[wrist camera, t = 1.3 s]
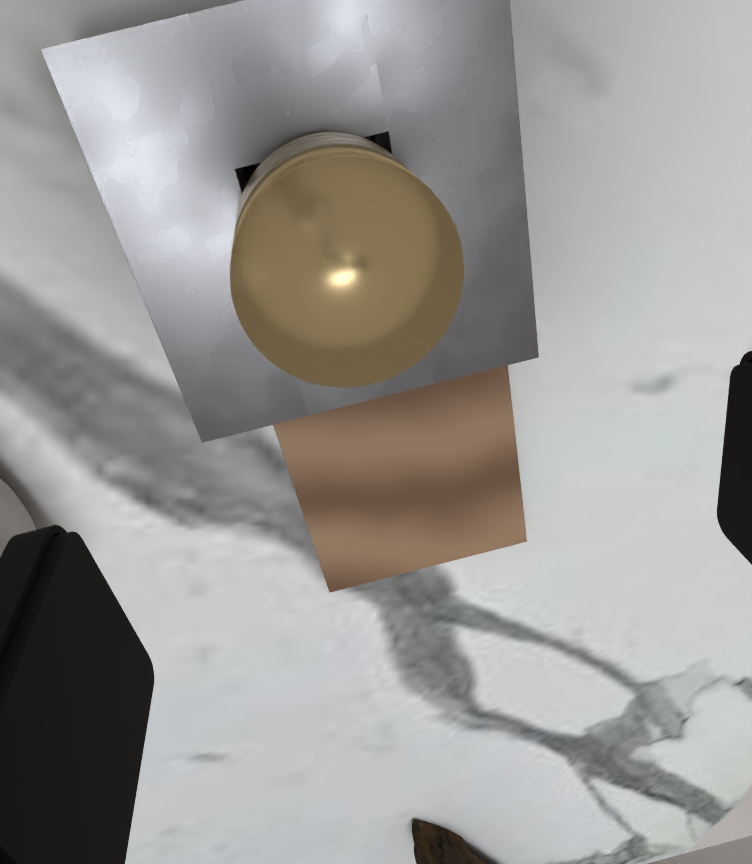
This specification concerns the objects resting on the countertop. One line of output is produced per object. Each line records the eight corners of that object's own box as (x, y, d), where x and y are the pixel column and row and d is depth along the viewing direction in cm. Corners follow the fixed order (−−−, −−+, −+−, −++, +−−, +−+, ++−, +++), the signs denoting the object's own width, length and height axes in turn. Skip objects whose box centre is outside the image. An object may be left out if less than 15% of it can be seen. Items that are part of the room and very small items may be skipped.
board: (272, 411, 31) (272, 421, 30) (500, 353, 31) (507, 362, 30) (328, 579, 37) (329, 592, 36) (520, 529, 37) (526, 541, 36)
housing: (73, 47, 23) (40, 48, 20) (468, -49, 23) (504, -63, 20) (208, 396, 30) (202, 442, 27) (507, 321, 31) (538, 357, 27)
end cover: (217, 137, 25) (195, 191, 16) (383, 97, 25) (446, 129, 17) (266, 297, 28) (268, 410, 20) (412, 261, 28) (477, 357, 20)
